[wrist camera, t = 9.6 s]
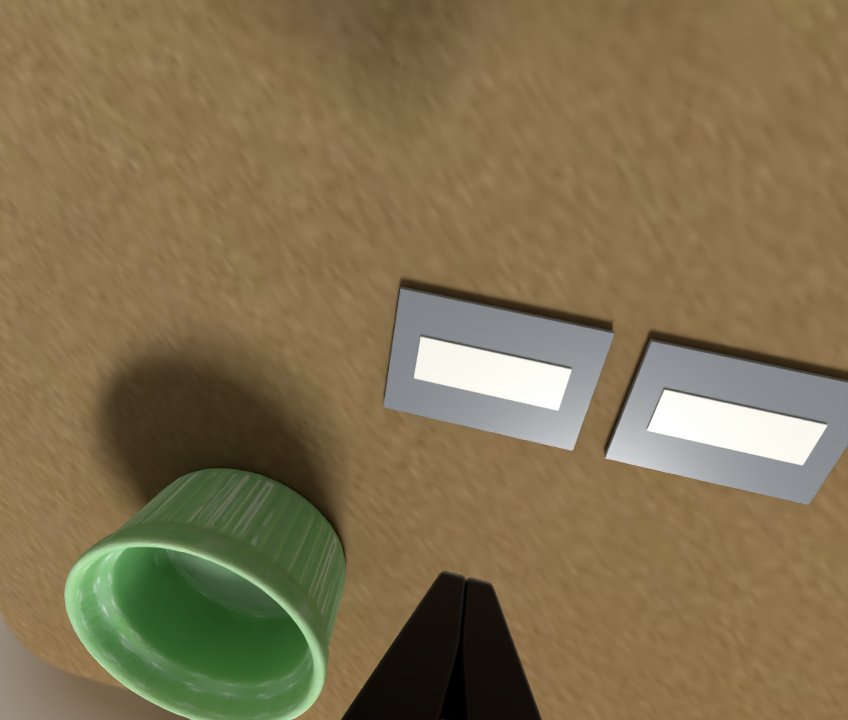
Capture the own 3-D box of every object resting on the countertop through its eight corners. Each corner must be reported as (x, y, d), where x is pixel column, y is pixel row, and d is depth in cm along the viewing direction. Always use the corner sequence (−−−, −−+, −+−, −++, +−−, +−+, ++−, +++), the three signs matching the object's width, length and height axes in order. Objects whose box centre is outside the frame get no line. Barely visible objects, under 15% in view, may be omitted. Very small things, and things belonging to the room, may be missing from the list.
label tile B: (613, 330, 14) (614, 334, 14) (572, 446, 16) (572, 451, 16) (401, 286, 15) (399, 288, 15) (385, 403, 17) (382, 407, 17)
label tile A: (878, 386, 14) (884, 391, 14) (804, 500, 16) (809, 506, 16) (649, 338, 14) (652, 342, 14) (604, 454, 16) (605, 459, 16)
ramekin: (344, 646, 23) (307, 758, 19) (150, 586, 23) (75, 683, 19) (380, 492, 19) (341, 594, 15) (142, 423, 19) (45, 505, 15)
